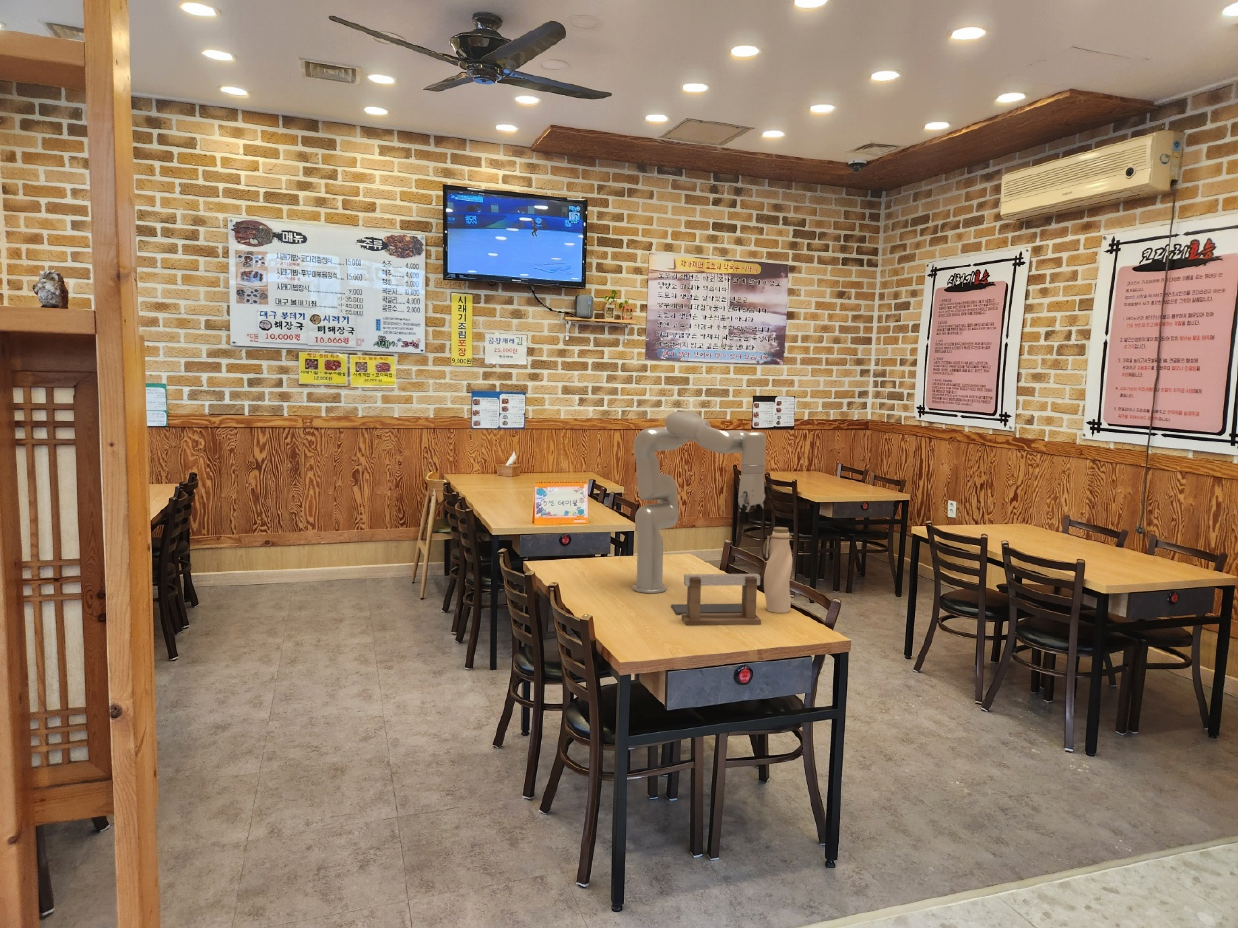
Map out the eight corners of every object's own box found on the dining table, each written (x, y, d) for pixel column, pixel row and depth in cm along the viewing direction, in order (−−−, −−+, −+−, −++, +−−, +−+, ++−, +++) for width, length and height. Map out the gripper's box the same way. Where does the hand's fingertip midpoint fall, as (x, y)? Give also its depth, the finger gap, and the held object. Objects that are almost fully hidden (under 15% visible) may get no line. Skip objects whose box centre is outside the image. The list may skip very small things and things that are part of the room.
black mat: (671, 606, 270) (671, 604, 269) (745, 605, 272) (745, 603, 272) (676, 614, 260) (676, 612, 260) (753, 613, 262) (753, 611, 262)
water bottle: (768, 614, 262) (771, 531, 259) (756, 607, 270) (759, 526, 268) (796, 612, 264) (799, 530, 262) (784, 605, 273) (786, 525, 270)
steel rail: (683, 583, 252) (684, 574, 252) (757, 582, 255) (757, 573, 254) (685, 585, 249) (685, 576, 249) (759, 585, 252) (760, 575, 252)
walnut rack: (681, 618, 256) (682, 574, 254) (754, 617, 258) (755, 573, 257) (686, 625, 248) (687, 579, 247) (760, 624, 250) (762, 579, 249)
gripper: (754, 467, 266) (753, 517, 267) (730, 471, 252) (728, 524, 253) (775, 469, 262) (773, 520, 263) (751, 472, 248) (749, 526, 249)
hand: (751, 522), depth 258 cm, fingers open, 9 cm apart
